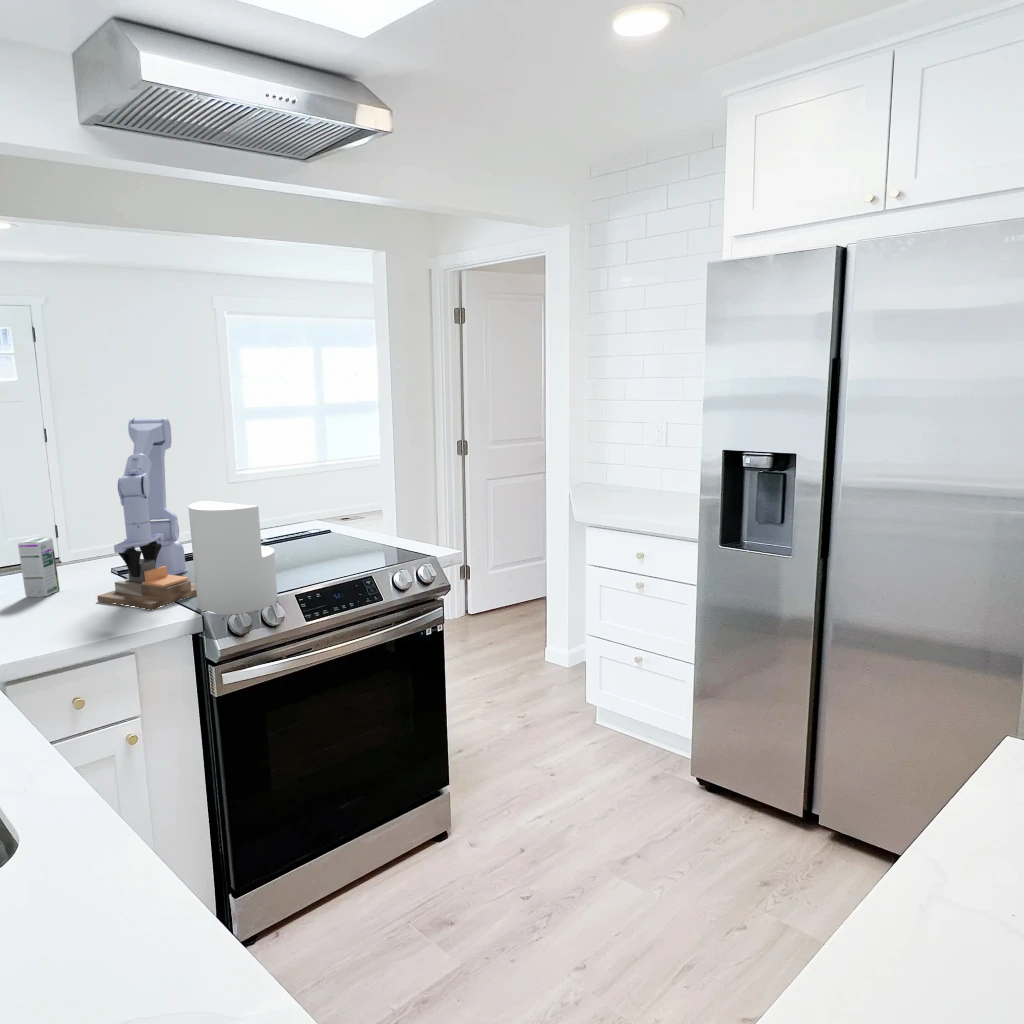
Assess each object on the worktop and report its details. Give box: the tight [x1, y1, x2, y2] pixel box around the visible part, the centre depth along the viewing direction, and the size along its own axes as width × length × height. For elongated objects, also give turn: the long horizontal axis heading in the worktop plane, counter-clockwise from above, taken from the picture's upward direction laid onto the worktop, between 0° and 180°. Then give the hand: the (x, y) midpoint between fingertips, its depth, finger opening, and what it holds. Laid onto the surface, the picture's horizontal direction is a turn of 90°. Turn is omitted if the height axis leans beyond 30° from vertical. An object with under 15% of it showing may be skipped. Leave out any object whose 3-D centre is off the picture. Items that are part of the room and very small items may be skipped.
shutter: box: [142, 566, 190, 588], centre depth 197 cm, size 8×8×3 cm
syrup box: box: [17, 537, 60, 597], centre depth 202 cm, size 6×6×14 cm
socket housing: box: [97, 577, 197, 611], centre depth 200 cm, size 18×19×4 cm
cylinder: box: [187, 500, 278, 615], centre depth 191 cm, size 19×19×25 cm
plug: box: [127, 558, 156, 583], centre depth 201 cm, size 4×7×6 cm, turn 71°
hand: (142, 574), depth 201 cm, fingers closed on plug, 4 cm apart
